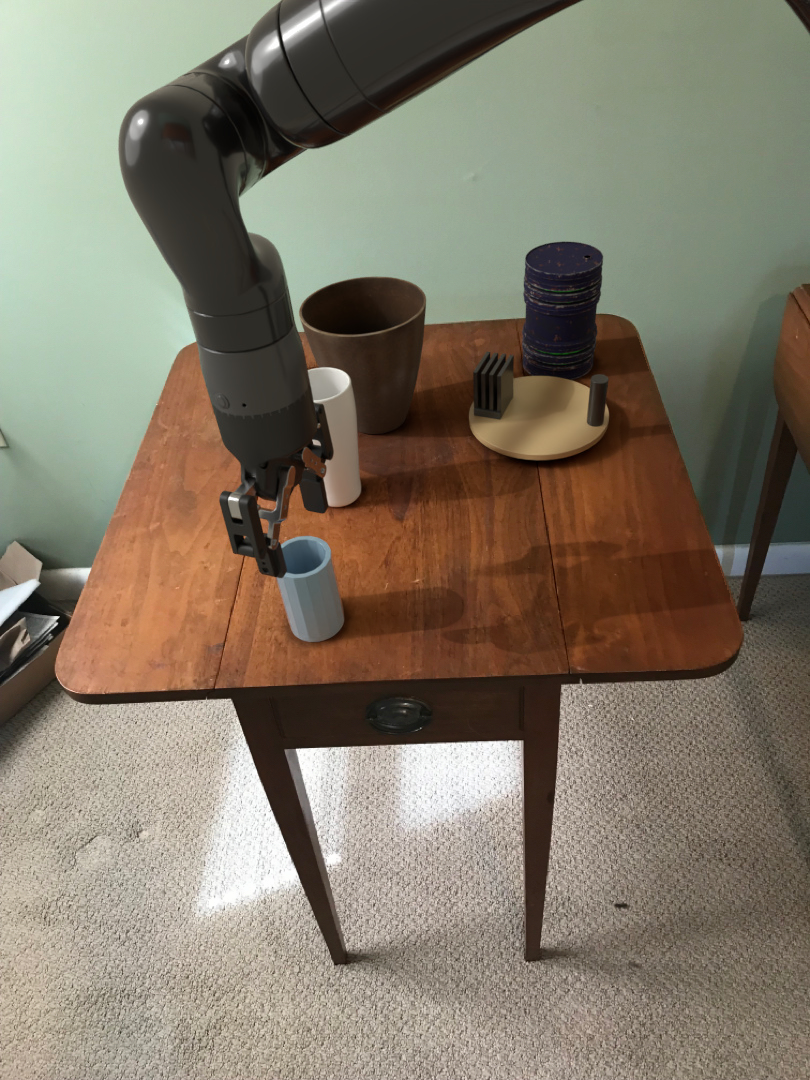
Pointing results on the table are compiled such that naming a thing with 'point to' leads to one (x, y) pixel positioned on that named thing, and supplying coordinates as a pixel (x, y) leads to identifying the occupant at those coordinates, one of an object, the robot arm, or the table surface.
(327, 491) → the drinking glass
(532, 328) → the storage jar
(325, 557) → the cup
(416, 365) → the flower pot
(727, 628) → the table surface
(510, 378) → the round wooden platform
